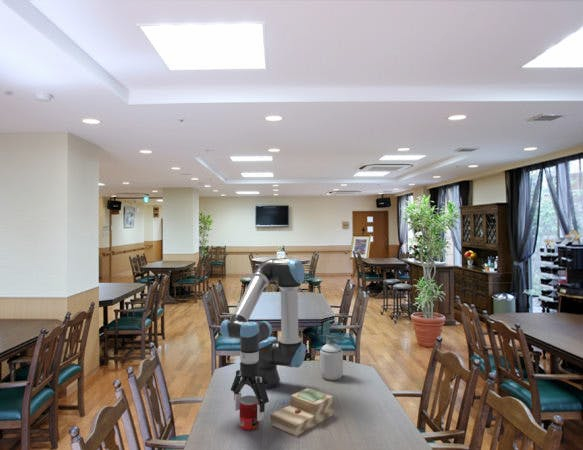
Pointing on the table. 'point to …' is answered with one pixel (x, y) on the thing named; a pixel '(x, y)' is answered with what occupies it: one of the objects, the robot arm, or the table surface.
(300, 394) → the stand
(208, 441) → the table surface
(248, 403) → the canned food
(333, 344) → the soap bottle
